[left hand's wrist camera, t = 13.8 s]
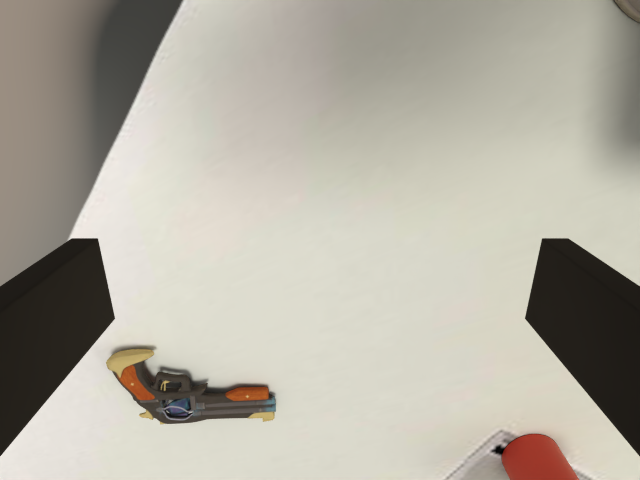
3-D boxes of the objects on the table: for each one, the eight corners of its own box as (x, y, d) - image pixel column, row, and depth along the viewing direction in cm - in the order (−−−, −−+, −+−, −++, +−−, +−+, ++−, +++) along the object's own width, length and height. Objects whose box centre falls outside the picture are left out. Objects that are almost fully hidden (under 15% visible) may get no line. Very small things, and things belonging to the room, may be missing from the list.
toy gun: (100, 359, 46) (112, 435, 49) (273, 352, 48) (275, 426, 50) (110, 346, 49) (121, 419, 51) (273, 340, 50) (276, 411, 53)
